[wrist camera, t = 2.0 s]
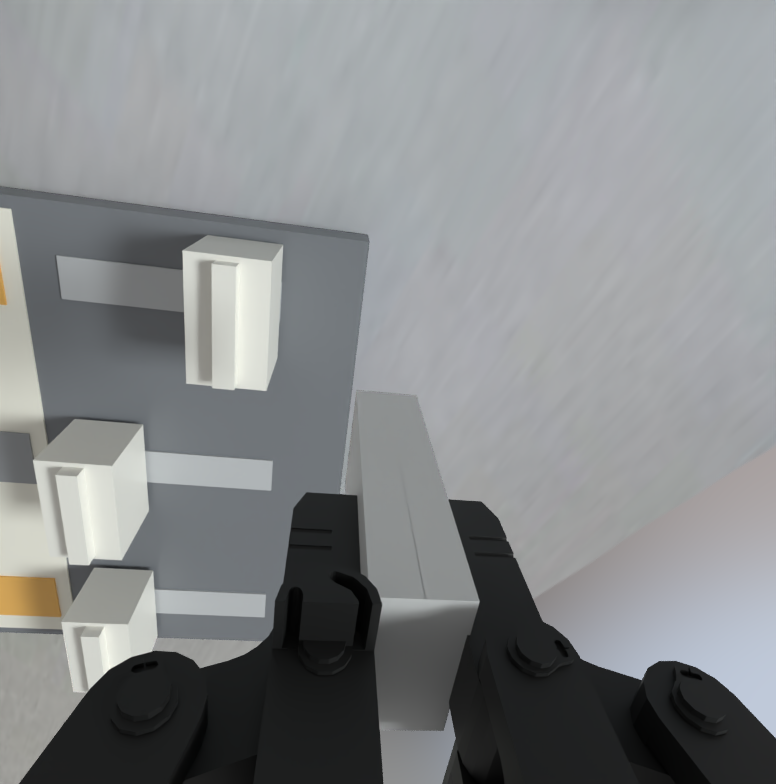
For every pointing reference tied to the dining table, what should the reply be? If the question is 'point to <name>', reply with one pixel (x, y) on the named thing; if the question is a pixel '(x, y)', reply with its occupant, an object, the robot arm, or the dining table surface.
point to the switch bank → (167, 404)
